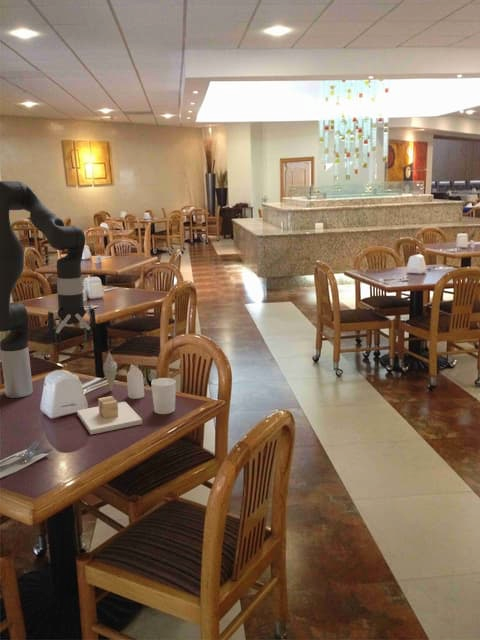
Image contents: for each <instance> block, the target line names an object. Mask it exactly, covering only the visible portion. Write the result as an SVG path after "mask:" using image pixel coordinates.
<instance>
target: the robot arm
mask: <svg viewBox="0 0 480 640" xmlns="http://www.w3.org/2000/svg"><path fill="white" fill-rule="evenodd" d="M22 210H24V211H26V212H29V219H30V221H31V223H32V225H33V227H35V228H36V229H37V230H38V231H39V232H41V233H42V235H44V237H45V238H46V240H47V242H48V244H49V245H50V247H51V248H53V249H55V250H57V251H67V254H66V255H64V256H62V257H60V258H58V259H57V260H56V275H57V277H56V278H57V282H56V286H57V287H56V289H57V303H58V304H57V305H58V306H57V307H58V309H57V311H50V310H49V311H48V312H47V329H48V331H49V332H50V333H54V340H55V343H56V344H57V345H62V337H61V330H62V329H63V328H64V327H65V325H68V326H69V325H72V324H73V325H77V324H79V323H81V325H82V326H83V327H84V329H83V330H84V340H85V341H86V342H90V339H91V335H92V334H91V329H93V328H96V327H97V322H96V321H97V320H96V313H95V309H94V308H93V307H90V306H89V308H85V306H84V304H85V303H84V285H83V279H82V266H81V265H82V264H81V263H82V258H83V254H84V249H85V245H86V235H85V232H84V230H83V228H82V227H80V226H78V225H65V222H64V221H63V219H62V218H61V217H60V216H58V215H57V214H56V213H55V212H53V211H52V210H51V209H49V208H48V207H47V206H46V205H45V204H44V203H43V202H42V200H41V199H40V198H39V196H38V195H37V194H36V193H35V191H33V189H32V188H31V187H30V186H29V185H28V184H27V183H24V182H22V181H7V180H6V181H2V180H0V333H1V332H2V333H3V332H8V331H9V333H8V334H7V336H5V337H4V338H3V339H1V341H0V357H1V365H2V372H3V373H2V374H3V384H4V391H5V392H4V393H5V397H7V398H11V399H18V398H24V397H27V396H30V395H31V394H33V393H34V392H33V381H32V380H33V379H32V378H33V377H32V371H31V359H30V353H29V352H30V350H29V341H30V329H29V327H30V325H29V322H30V321H29V314H28V310H27V308H26V307H25V305H24V304H23V303H21V302H19V301H16V302H11V294H12V292H13V290H14V288H15V287H16V285H17V282H18V281H19V279H20V277H21V276H22V273H23V270H24V266H25V265H24V262H25V261H24V260H25V257H24V256H25V250H24V247H23V245H22V243H21V241H20V240H19V238H18V237H17V236H18V235H17V234H16V233H15V232H14V230H13V227H12V225H11V221H10V211H22ZM86 314H87V316H88V317H89V323H87V321H86V320H85V319H84V317H85V315H86ZM56 317H59V321H58V322H57V324H56V326H55V327H54V325H55V323H54V322H55V321H54V320H55V319H56Z"/></svg>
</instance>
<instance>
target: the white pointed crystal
mask: <svg viewBox="0 0 480 640" xmlns="http://www.w3.org/2000/svg"><path fill="white" fill-rule="evenodd" d="M126 383H127V384H126V388H127V395H128V396H127V397H128V398H129V399H133V400H135V399H137V400H138V399H142V398H144V397H145V386H144V376H143V372H142V371H141V370H140V369H139V368H138V366H137V367H136V365H134V364H133V363H131V364H130V368H129V370H128V372H127V374H126Z"/></svg>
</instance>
